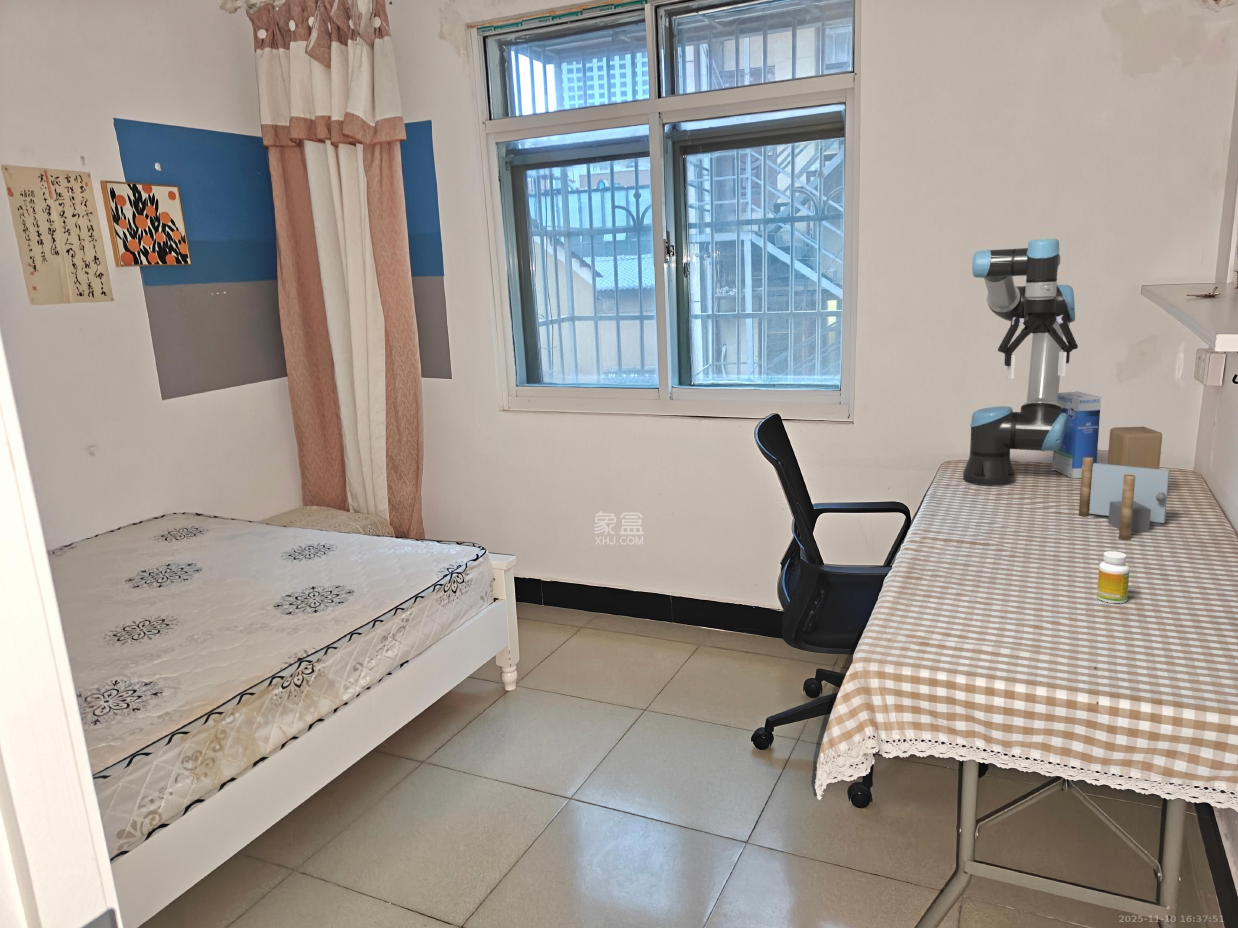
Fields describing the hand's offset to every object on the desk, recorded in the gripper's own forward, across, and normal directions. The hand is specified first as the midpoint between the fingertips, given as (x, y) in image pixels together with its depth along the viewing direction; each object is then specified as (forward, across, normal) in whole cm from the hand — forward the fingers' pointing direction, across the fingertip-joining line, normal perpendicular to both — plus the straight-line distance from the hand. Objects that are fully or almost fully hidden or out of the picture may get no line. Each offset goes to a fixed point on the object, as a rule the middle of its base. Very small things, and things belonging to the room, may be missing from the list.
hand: (1035, 377), depth 229 cm
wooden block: (+37, +30, +4) cm, 48 cm away
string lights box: (+37, +28, +34) cm, 57 cm away
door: (+36, +17, -18) cm, 44 cm away
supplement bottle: (+37, -12, -69) cm, 79 cm away
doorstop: (+37, +15, -23) cm, 46 cm away
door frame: (+37, +10, -21) cm, 44 cm away
